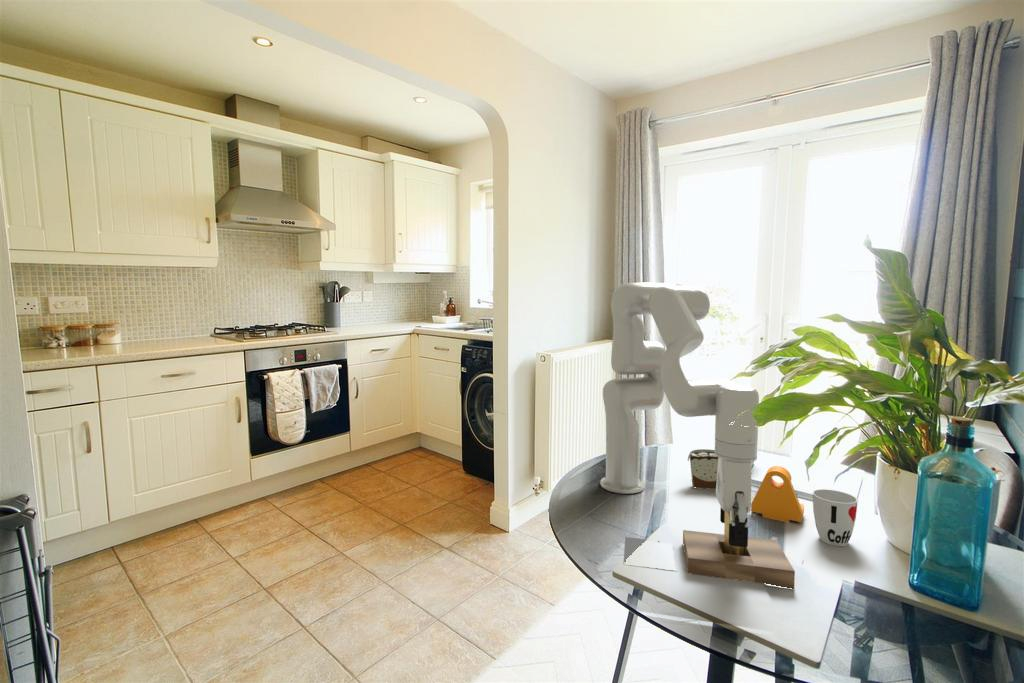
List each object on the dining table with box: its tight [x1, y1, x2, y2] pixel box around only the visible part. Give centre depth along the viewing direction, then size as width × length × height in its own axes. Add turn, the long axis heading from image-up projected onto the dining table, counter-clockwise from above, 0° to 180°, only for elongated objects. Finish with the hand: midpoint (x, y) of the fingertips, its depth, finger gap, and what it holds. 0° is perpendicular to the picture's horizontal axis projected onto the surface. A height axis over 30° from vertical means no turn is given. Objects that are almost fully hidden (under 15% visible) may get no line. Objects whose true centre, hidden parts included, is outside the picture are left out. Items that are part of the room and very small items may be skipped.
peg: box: [723, 510, 744, 556], centre depth 92 cm, size 4×4×11 cm
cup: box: [812, 488, 858, 547], centre depth 103 cm, size 8×8×10 cm
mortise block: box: [682, 529, 796, 590], centre depth 93 cm, size 12×18×4 cm, turn 74°
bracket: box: [750, 465, 805, 523], centre depth 116 cm, size 11×7×12 cm, turn 54°
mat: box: [623, 536, 648, 563], centre depth 97 cm, size 12×10×1 cm
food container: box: [687, 448, 718, 490], centre depth 136 cm, size 12×6×10 cm, turn 80°
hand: (733, 533), depth 93 cm, fingers open, 9 cm apart
